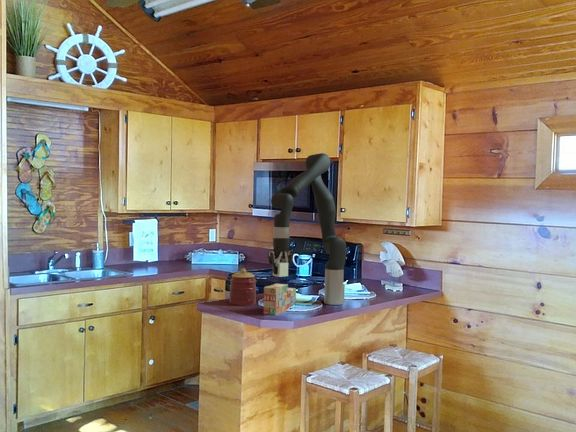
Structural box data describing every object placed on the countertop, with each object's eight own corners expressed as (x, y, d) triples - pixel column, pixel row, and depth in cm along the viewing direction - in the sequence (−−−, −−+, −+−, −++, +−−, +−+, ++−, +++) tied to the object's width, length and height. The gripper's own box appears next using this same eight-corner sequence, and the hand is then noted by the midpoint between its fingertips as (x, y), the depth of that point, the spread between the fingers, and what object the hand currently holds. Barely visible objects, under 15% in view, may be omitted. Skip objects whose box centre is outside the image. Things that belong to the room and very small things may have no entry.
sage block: (281, 274, 257) (281, 261, 257) (288, 276, 253) (288, 263, 253) (272, 275, 254) (273, 262, 254) (279, 276, 250) (279, 263, 250)
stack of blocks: (284, 306, 267) (284, 280, 266) (296, 307, 264) (296, 282, 264) (263, 314, 247) (263, 286, 247) (275, 315, 245) (276, 287, 244)
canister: (236, 301, 276) (237, 266, 275) (260, 303, 271) (261, 267, 271) (224, 305, 264) (225, 268, 263) (248, 308, 259) (249, 270, 258)
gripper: (287, 236, 260) (287, 272, 261) (263, 236, 251) (262, 274, 252) (298, 237, 255) (297, 273, 255) (274, 237, 245) (273, 276, 246)
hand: (280, 273), depth 253 cm, fingers closed on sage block, 5 cm apart
